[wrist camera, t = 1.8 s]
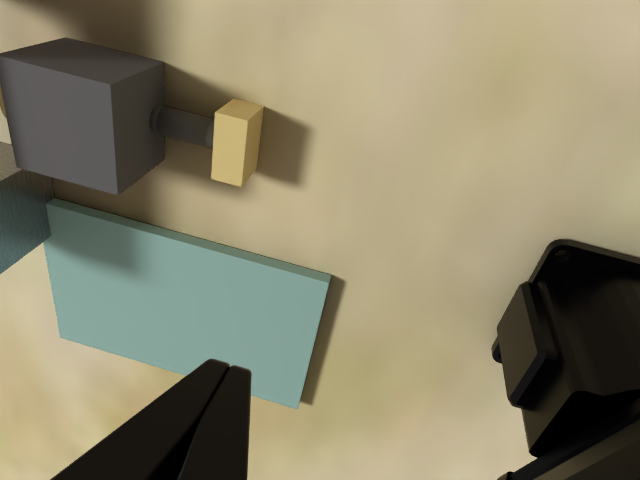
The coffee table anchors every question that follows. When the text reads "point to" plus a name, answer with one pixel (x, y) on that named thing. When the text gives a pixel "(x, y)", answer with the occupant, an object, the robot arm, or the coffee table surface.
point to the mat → (182, 299)
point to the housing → (21, 209)
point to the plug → (111, 117)
